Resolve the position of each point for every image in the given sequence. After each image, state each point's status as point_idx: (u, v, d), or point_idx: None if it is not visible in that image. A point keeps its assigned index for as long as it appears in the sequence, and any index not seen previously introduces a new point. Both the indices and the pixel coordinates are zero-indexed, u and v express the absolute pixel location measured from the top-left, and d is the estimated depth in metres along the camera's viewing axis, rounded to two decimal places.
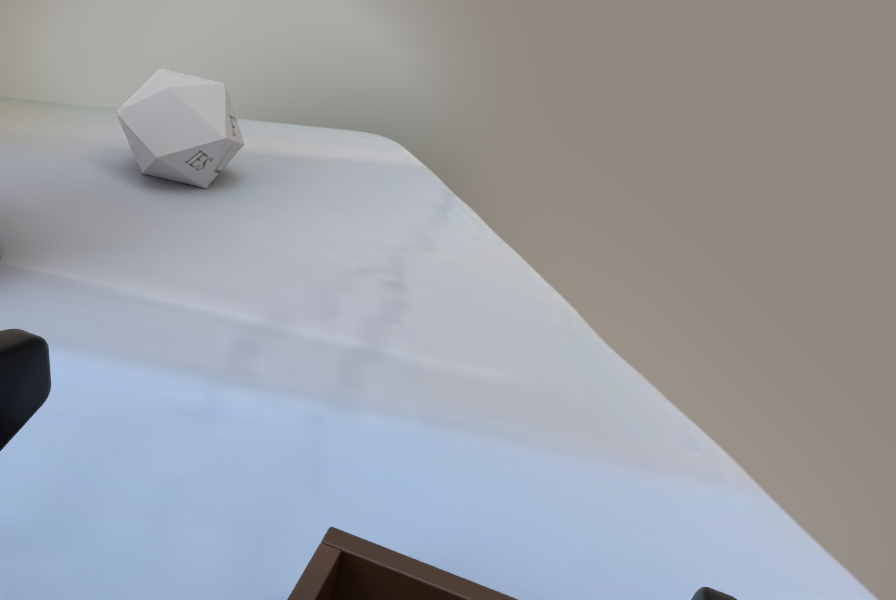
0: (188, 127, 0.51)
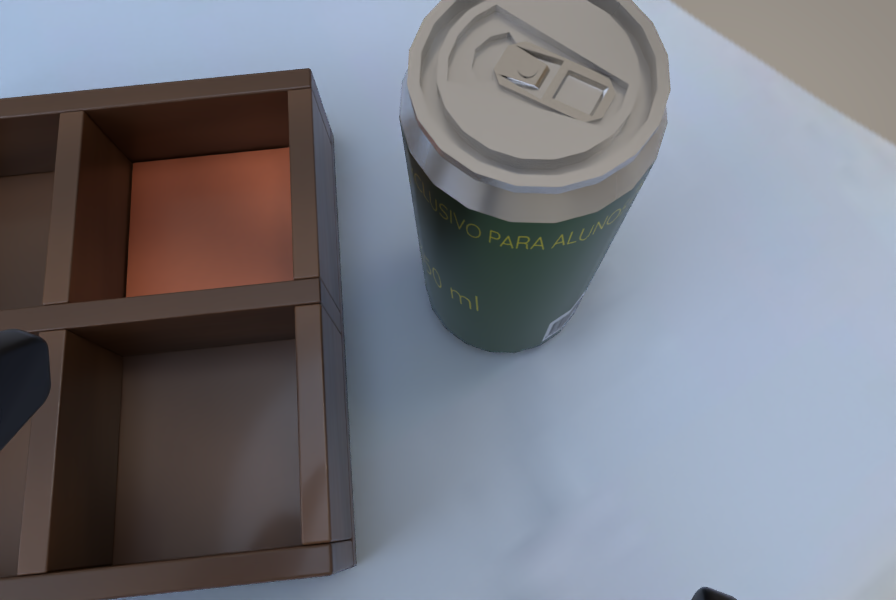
0: None
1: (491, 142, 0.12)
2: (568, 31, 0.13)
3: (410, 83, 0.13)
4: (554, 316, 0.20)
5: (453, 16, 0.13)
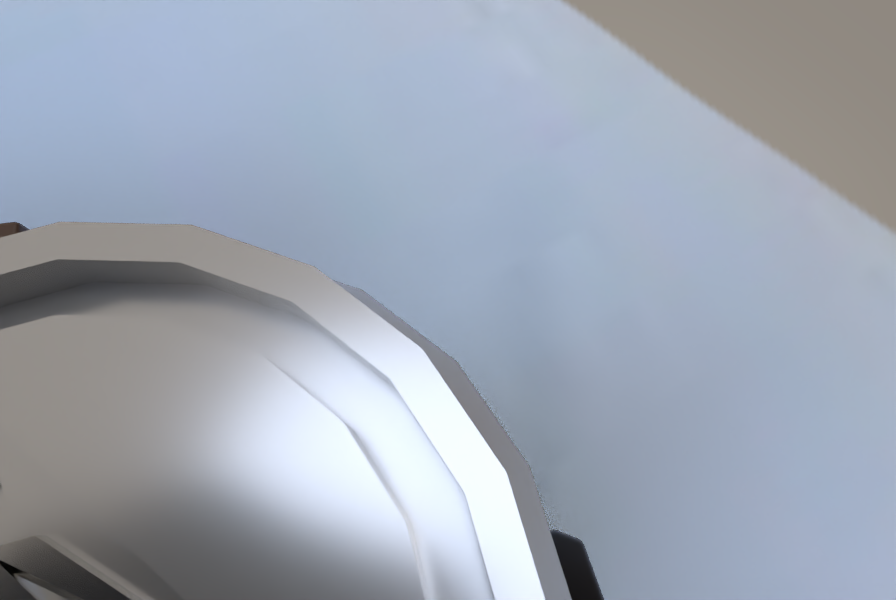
0: None
1: None
2: (186, 509, 0.03)
3: None
4: None
5: None
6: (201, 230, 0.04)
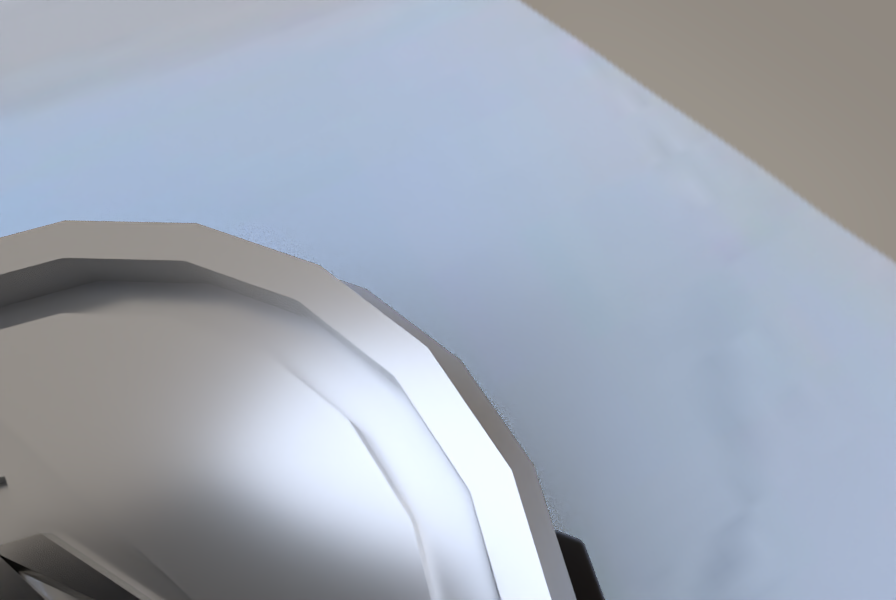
0: None
1: None
2: (191, 504, 0.03)
3: None
4: None
5: None
6: None
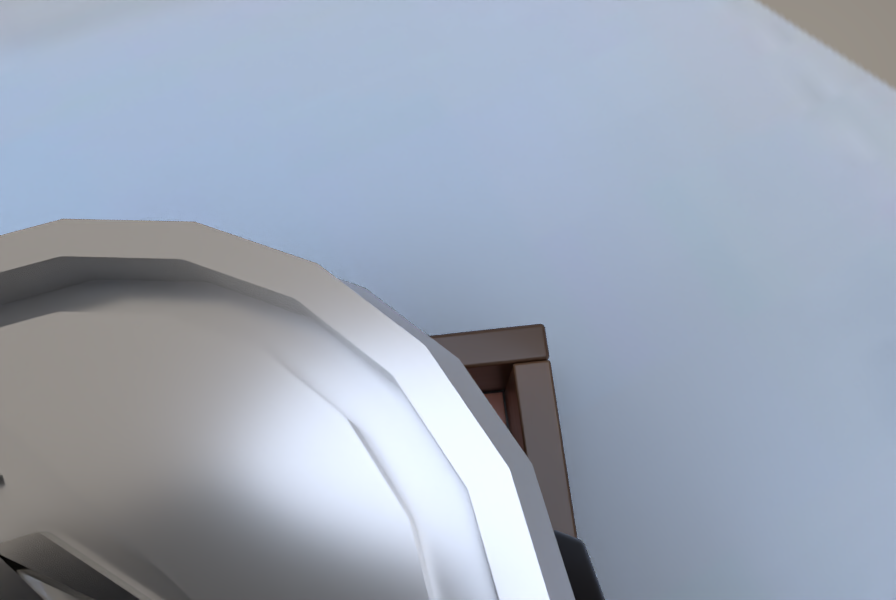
0: None
1: None
2: (191, 502, 0.03)
3: None
4: None
5: None
6: (204, 226, 0.04)
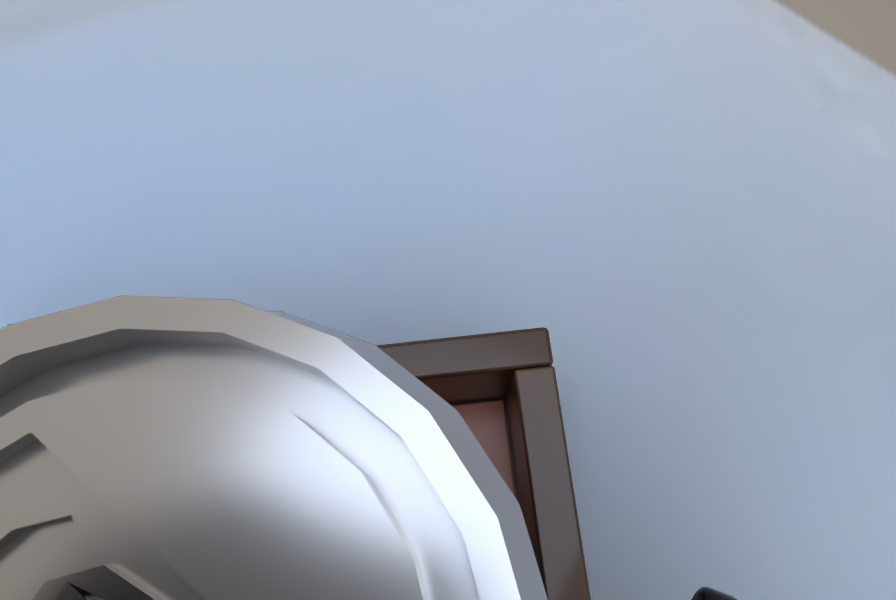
0: None
1: None
2: (230, 543, 0.04)
3: None
4: None
5: None
6: (241, 304, 0.05)
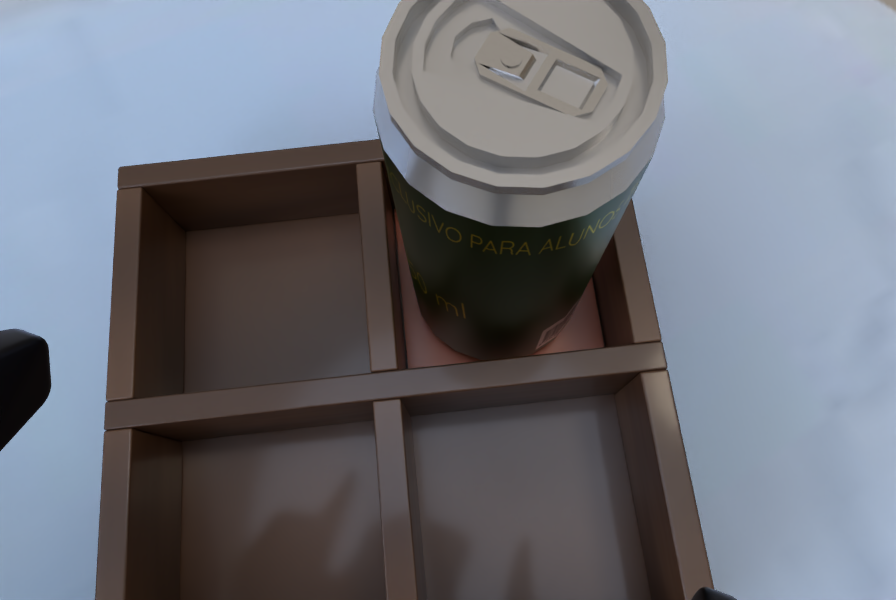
0: None
1: (469, 138, 0.11)
2: (557, 17, 0.12)
3: (382, 74, 0.11)
4: (547, 324, 0.18)
5: (432, 1, 0.12)
6: None
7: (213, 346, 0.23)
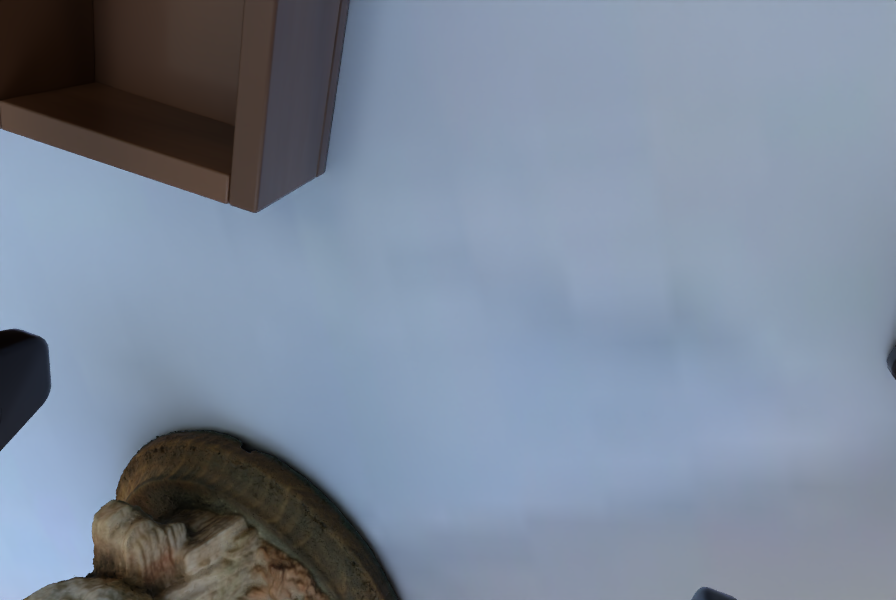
0: None
1: None
2: None
3: None
4: None
5: None
6: None
7: None
